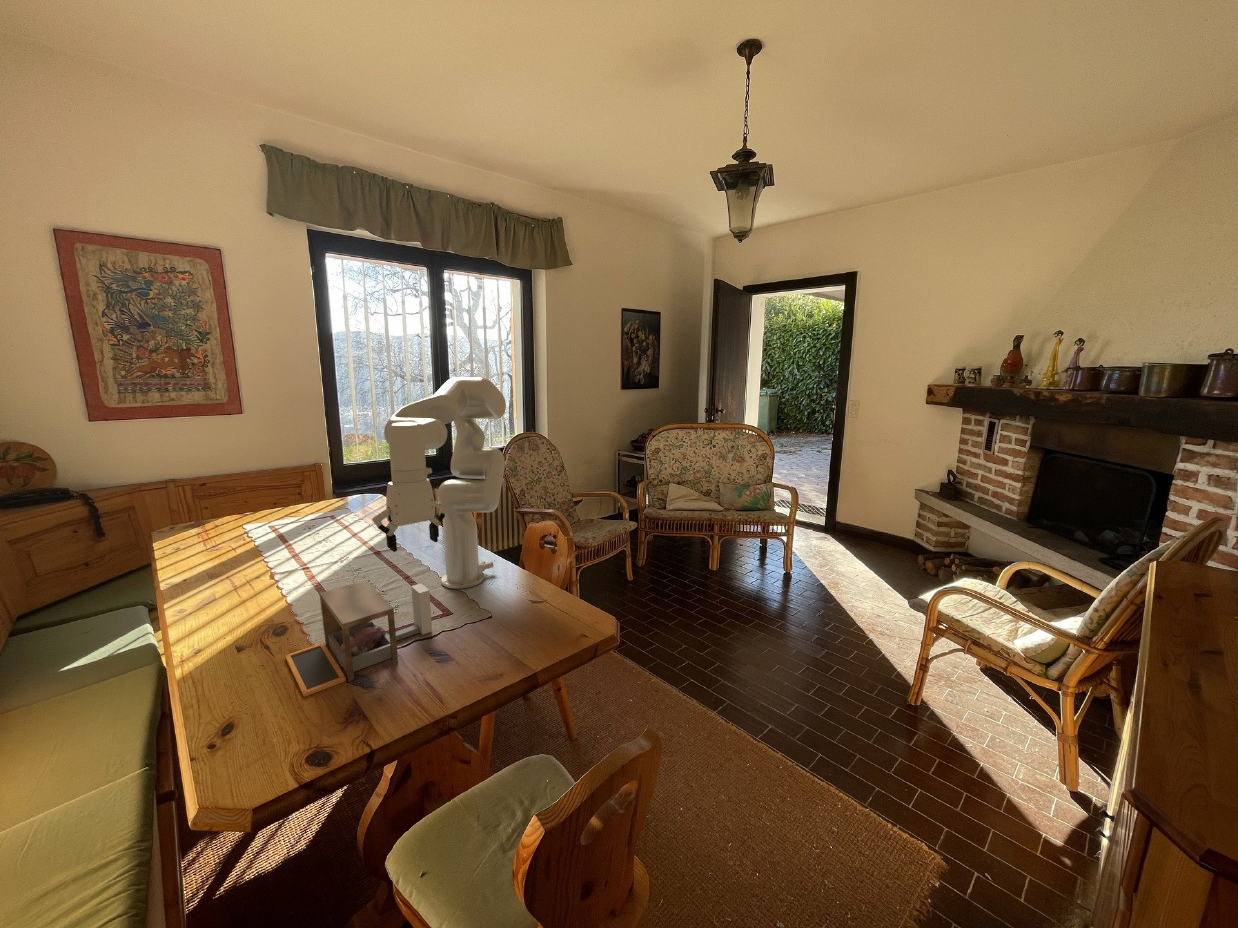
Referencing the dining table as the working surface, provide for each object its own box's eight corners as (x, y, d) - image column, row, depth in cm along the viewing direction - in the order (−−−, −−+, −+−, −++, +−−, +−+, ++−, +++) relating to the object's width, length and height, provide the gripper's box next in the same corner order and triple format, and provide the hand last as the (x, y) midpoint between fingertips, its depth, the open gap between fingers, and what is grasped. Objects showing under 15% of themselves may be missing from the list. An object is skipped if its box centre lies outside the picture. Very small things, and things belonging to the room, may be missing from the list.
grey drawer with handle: (416, 616, 129) (413, 577, 127) (440, 638, 119) (437, 596, 117) (329, 646, 115) (324, 602, 113) (347, 674, 105) (342, 627, 103)
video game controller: (343, 669, 110) (348, 648, 107) (332, 654, 111) (337, 633, 108) (384, 647, 118) (390, 627, 115) (374, 634, 120) (379, 614, 117)
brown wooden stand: (370, 629, 123) (365, 580, 121) (398, 662, 110) (393, 607, 107) (325, 644, 117) (319, 592, 114) (349, 681, 103) (342, 624, 101)
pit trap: (323, 645, 116) (323, 642, 116) (345, 680, 104) (345, 677, 103) (285, 658, 111) (285, 655, 111) (304, 697, 98) (303, 693, 98)
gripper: (438, 468, 124) (442, 533, 127) (364, 478, 112) (370, 549, 115) (451, 473, 118) (455, 541, 122) (374, 484, 107) (381, 558, 110)
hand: (414, 545), depth 118 cm, fingers open, 9 cm apart
